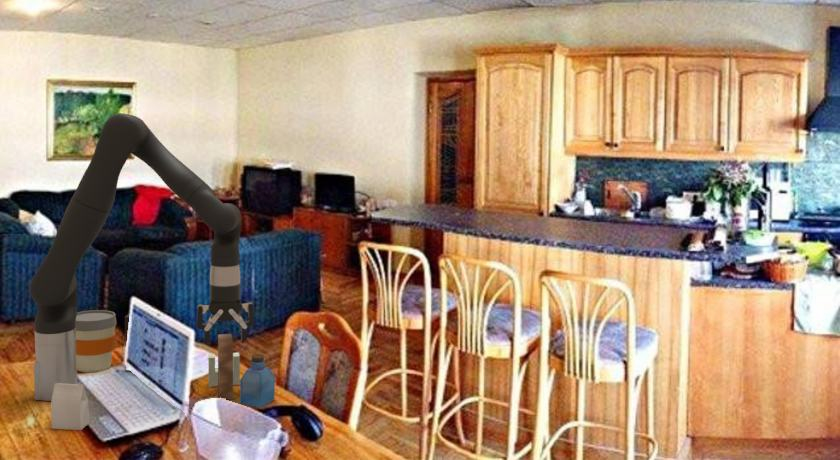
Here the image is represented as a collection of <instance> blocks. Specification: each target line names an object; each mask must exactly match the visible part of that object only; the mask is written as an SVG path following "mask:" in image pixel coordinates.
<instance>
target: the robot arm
mask: <svg viewBox="0 0 840 460" xmlns="http://www.w3.org/2000/svg"><path fill="white" fill-rule="evenodd" d="M94 149H95V150H94V152H93V155H92V157H91V160H90V162H89V164H88V166H87V168H86V169H85V170H84V171H85V172H84V173H83V175H82V177H81V179H80V181H79V183H78V185H77V187H76V189H75V191H74V192H73V195H72V197H71V199H70V201H69V203H68V205H67V207H66V210H65V212H64V214H63V217H62V219H61V221H60V223H59V226H58V228H57V231H56V234H55V236H54V239H53V242H52V244H51V247H50V249H49V250H48V253H47V254H46V256H45V258H44V259H43V261H42V262H41V264H40V266H39V267H38V269H37V271H36V272H35V274H34V276H32V278H31V280H30V283H29V294H30V297H31V298H32V300H33V302H35V303H36V304H37V308H36V309H37V310H36V311H37V312H36V316H35V318H34V323H33V324H34V325H33V326H34V345H35V347H34V349H35V353H34V354H35V360H34V363H33V376H34V377H33V380H34V384H33V385H34V400H35V401H39V400H40V401H46V402H51V400H52V396H53V390H54V384H55V383H61V384H78V370H77V360H76V328H75V327H76V326H75V322H76V316H77V313H78V282H77V278H76V271H77V269H78V266H79V265H80V262H81V260H82V259H83V257H84V256H85V254H86V253H87V251H88V250H89V248H90V247H91V245H92V244H93V243H94V241H95V240H96V239H97V238H98V236H99V234H100V233H101V231H102V229H103V227H104V226H105V223H106V221H107V219H108V217H109V215H110V212H111V211H112V208H113V205H114V203H115V198H116V193H117V186H118V182H119V177H120V174H121V172H122V169H123V167H124V166H125V164H126V162H127V160H128V158H129V157H130V155H133V156H134V157H136V158H138V159H139V160H141V161H142V162H143V163H145V164H146V165H147V166H148V167H150V168H151V170H153V171H154V172H155V173H156V174H157V176H158V177H159V178H160V179H161V180H162V182H163V183H164V184H165V185H166V187H168V189H170V190H171V192H173V193H174V194H175V195H176V196H177V197H178V198H179V199H181V200H182V201H183V202H184V203H185V204H186V205H187V206H189V207H190V208H191V209H192V210H193V211H194V212H195V214H196V215H197V216H198V217H199V218H200V220H201V221H202V222H203V223H204V224H205V225H206V227H208V228H209V229H210V230H211V231H213V232H214V233H213V234H214V235H213V241H212V244H211V248H210V271H209V293H210V294H209V297H210V298H209V300H210V301H209V304H206V305H204V304H202V303H198V304H197V315H196V316H197V317H196V329H198V330H202V331H203V339H204V344H206V345H207V346H210V345H211V331H210V329H211V328H212V327H213V325H215V324H216V322H217V321H218V322H220V323H221V322H224V321H227V322H232V321H234V320H235V321H236V322H237V324H239V325H240V326H241V327H240V342H241V344H244V343H245V341H247V340H248V329H249V328H251V327H254V326H255V315H254V314H255V313H254V304H253V302H252V301H249V302H245V303H242V301H241V280H242V279H241V269H240V238H241V232H242V231H241V230H242V214H241V211H240V210H239V208H238V206H236V205H235V204H234V203H229V202H227V203H226V202H225V203H223V202H222V200H220V199H219V198H218V197H217V196H216V195H215V194H214V192H213V191H214V190H213V189H212V188H211V187H210V185H209V184H208V183H207V182H206V181H204V180H203V179H202V178H201V177H199V175H197V174H196V173H195V172H194V171H193V170H191V168H190V167H188V166H187V165H186V164H184V163H183V162H182V161H181V160H179V159H178V158H177V156H175V155H174V154H173V153H171V151H170V150H168V149H167V147H166V146H165V145H164V144H163V143H162V142H161V141H160V140H159V139H158V137H157V136H156V135H155V134H154V133H153V131H152V130H151V129H150V127H148V125H147V124H146V123H145V122H144V120H143V119H142V118H140V117H138V116H136V115H133V114H129V113H121V112H120V113H116V114H114V115H112V116H110V117H109V118H107V120H106V121H105V122H104V124H103V126H102V129H101V131H100V135H99V138H98V141H97V143H96V147H95V148H94ZM243 309H244V310H245V312H246V313H247V314H248V315H247V316H248V320H247V321H245V320H244V318H243V317H242V316H241V314H240V313H241V311H242V310H243ZM207 311H209V313H210V314H211V315H210V317H209V318H208V320H207V321H206V323H203V315H204V314H206V312H207Z"/></svg>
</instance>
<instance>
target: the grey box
mask: <svg viewBox="0 0 840 460" xmlns="http://www.w3.org/2000/svg"><path fill="white" fill-rule="evenodd" d="M89 414H90V413H89V398H88V394H87V392H86V387H85V384H78V383H77V384H61V383H55V384H54V390H53V396H52V400H51V401H50V415H51V416H50V419H51V420H50V421H51V425H50V426H51V429H53V430H54V429H55V430H72V431H73V430H74V431H81V430H83V429H84V428H85V427H86V426H88V425H89V424H90V421H89V420H90V416H89ZM88 423H89V424H88Z"/></svg>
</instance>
